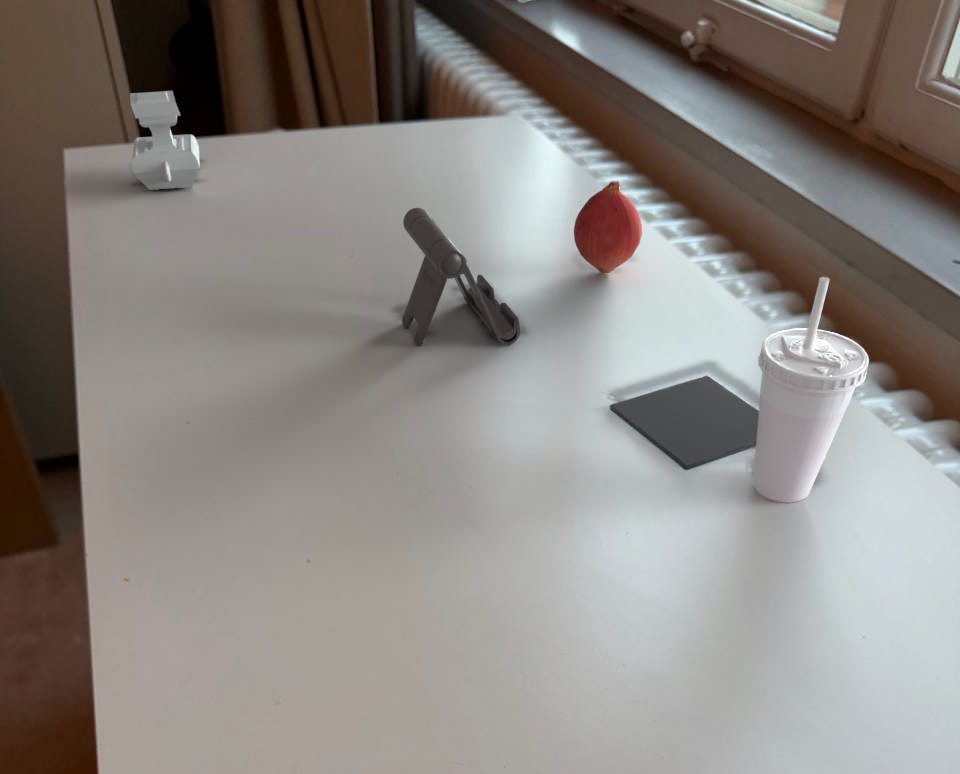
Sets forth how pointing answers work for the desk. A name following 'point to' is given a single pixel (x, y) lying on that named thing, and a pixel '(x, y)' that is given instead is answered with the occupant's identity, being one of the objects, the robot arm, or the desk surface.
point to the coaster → (692, 421)
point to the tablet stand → (434, 273)
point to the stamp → (162, 144)
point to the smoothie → (802, 403)
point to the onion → (608, 229)
